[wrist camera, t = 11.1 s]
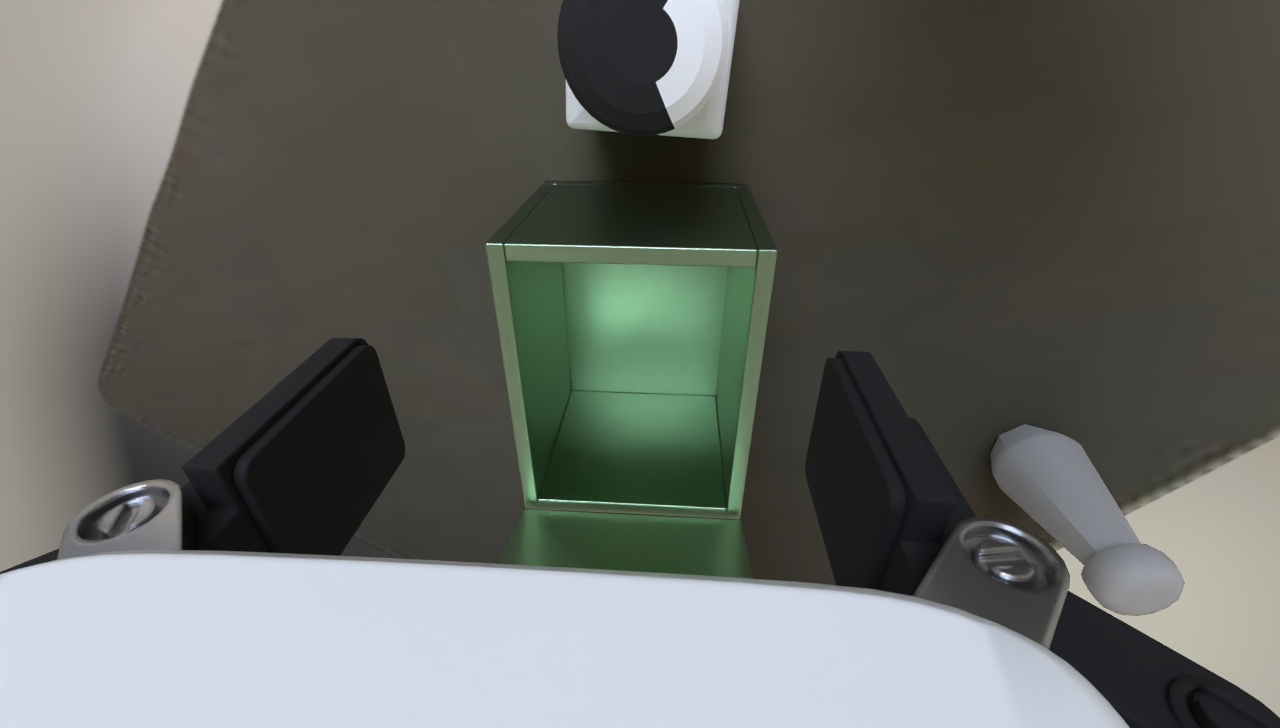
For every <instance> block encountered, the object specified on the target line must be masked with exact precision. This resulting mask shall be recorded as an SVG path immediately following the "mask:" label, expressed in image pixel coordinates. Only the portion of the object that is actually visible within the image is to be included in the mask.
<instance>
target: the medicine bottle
mask: <svg viewBox="0 0 1280 728" xmlns="http://www.w3.org/2000/svg"><path fill="white" fill-rule="evenodd" d="M739 1H740V0H563V3H562V6H561V11H560V16H559V21H558V51H559V57H560V62H561V66H562V69H563V73H564V76H565V78H566V120H567V124H568V125H569V126H570V127H571V128H574V129H586V130H599V131H612V132H620V133H624V134H628V135H634V136H652V135H664V136H677V137H690V138H703V139H717V138H718V137H720V136H721V133H722V130H723V123H724V115H725V108H726V100H727V92H728V85H729V77H730V70H731V62H732V54H733V47H734V39H735V32H736V24H737V16H738V9H739Z"/></svg>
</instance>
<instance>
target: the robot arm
mask: <svg viewBox="0 0 1280 728" xmlns="http://www.w3.org/2000/svg"><path fill="white" fill-rule="evenodd" d="M404 455H405V444H404V440H403V437H402V434H401V430H400V427H399V424H398V421H397V418H396V414H395V411H394V408H393V405H392V401H391V398H390V395H389V392H388V388H387V385H386V382H385V379H384V375H383V372H382V369H381V366H380V362H379V359H378V356H377V353H376V350H375V349H374V348H373V347H372V346H370V345H368V344H367V342H366V341H365V340H363V339H361V338H332V339H330V340H329V341H328V342H326V343H325V344H324V345H323V346H322V347H321V348H319V349H318V350H317V351H316V352H315V353H314V354H312V355H311V356H310V357H309V358H308V359H307V360H305V361H304V362H303V363H302V364H301V365H300V366H298V367H297V368H296V369H295V370H294V371H293V372H292V373H290V374H289V375H288V376H287V377H286V378H285V379H283V380H282V381H281V382H280V383H279V384H278V385H276V386H275V387H274V388H273V389H272V390H271V391H269V392H268V393H267V394H266V395H265V396H264V397H263V398H261V399H260V400H259V401H258V402H257V403H256V404H254V405H253V406H252V407H251V408H250V409H249V410H247V411H246V412H245V413H244V414H243V415H242V416H240V417H239V418H238V419H237V420H236V421H235V422H233V423H232V424H231V425H230V426H229V427H228V428H227V429H225V430H224V431H223V432H222V433H221V434H220V435H218V436H217V437H216V438H215V439H214V440H213V441H211V442H210V443H209V444H208V445H207V446H206V447H204V448H203V449H202V450H201V451H200V452H199V453H198V454H196V455H195V456H194V457H193V458H192V459H191V460H189V461H188V462H187V463H186V464H185V465H184V466H182V469H183V470H184V472H185V474H186V475H187V477H188V479H189V480H190V481H189V482H188V483H187V484H186V485H185V486H184V487H183V488H181V487H180V486H179V485H178V484H176V483H174V482H173V481H168V480H161V479H159V480H150V481H143V482H139V483H135V484H132V485H128V486H126V487H123V488H120V489H118V490H116V491H113V492H111V493H109V494H107V495H105V496H103V497H101V498H99V499H98V500H96V501H94V502H92V503H91V504H90V505H88V506H87V507H86V508H84V509H83V510H81V511H80V512H79V513H78V514H77V515H76V516H75V517H74V518H73V519H72V520H71V521H70V522H69V523H68V525H67V527H66V529H65V531H64V533H63V536H62V540H61V545H60V548H59V549H57V550H54V551H52V552H49V553H47V554H45V555H42V556H39V557H37V558H34V559H32V560H29V561H27V562H24V563H22V564H20V565H17V566H14V567H12V568H10V569H7V570H4V571H2V572H0V728H1280V718H1279V717H1278V716H1277V715H1276V714H1275V713H1273V712H1272V711H1271V710H1270V709H1269V708H1268V707H1266V706H1265V705H1264V704H1263V703H1262V702H1260V701H1259V700H1257V699H1256V698H1254V697H1253V696H1251V695H1249V694H1248V693H1247V692H1245V691H1243V690H1242V689H1240V688H1239V687H1237V686H1236V685H1234V684H1232V683H1230V682H1228V681H1227V680H1225V679H1223V678H1222V677H1220V676H1218V675H1216V674H1215V673H1213V672H1211V671H1209V670H1207V669H1206V668H1204V667H1202V666H1200V665H1199V664H1197V663H1195V662H1193V661H1191V660H1190V659H1188V658H1186V657H1184V656H1183V655H1181V654H1179V653H1177V652H1176V651H1173V650H1172V649H1170V648H1168V647H1167V646H1164V645H1163V644H1161V643H1160V642H1158V641H1156V640H1154V639H1153V638H1151V637H1149V636H1147V635H1146V634H1144V633H1142V632H1140V631H1138V630H1137V629H1135V628H1133V627H1131V626H1130V625H1128V624H1126V623H1124V622H1123V621H1121V620H1119V619H1117V618H1115V617H1113V616H1112V615H1110V614H1108V613H1106V612H1105V611H1103V610H1101V609H1099V608H1098V607H1096V606H1094V605H1092V604H1091V603H1089V602H1087V601H1085V600H1084V599H1082V598H1080V597H1078V596H1076V595H1074V594H1073V593H1071V592H1069V591H1068V589H1069V583H1070V575H1069V572H1068V569H1067V567H1066V565H1065V563H1064V561H1063V559H1062V558H1061V557H1060V556H1059V555H1058V553H1057V552H1056V551H1055V550H1054V548H1053V547H1051V546H1050V545H1049V544H1048V543H1046V542H1045V541H1044V540H1043V539H1041V538H1040V537H1039V536H1037V535H1036V534H1034V533H1032V532H1030V531H1029V530H1027V529H1025V528H1023V527H1022V526H1019V525H1016V524H1014V523H1011V522H1009V521H1006V520H1002V519H997V518H992V517H976V516H975V515H974V513H973V511H972V510H971V508H970V506H969V505H968V503H967V501H966V500H965V498H964V497H963V495H962V493H961V492H960V490H959V488H958V487H957V485H956V483H955V482H954V480H953V478H952V477H951V475H950V473H949V472H948V470H947V468H946V467H945V465H944V464H943V462H942V460H941V459H940V457H939V455H938V454H937V452H936V450H935V449H934V447H933V445H932V444H931V442H930V440H929V439H928V437H927V436H926V434H925V432H924V431H923V429H922V427H921V426H920V424H919V423H918V422H917V421H916V420H915V419H913V418H908V416H907V414H906V413H905V411H904V409H903V407H902V406H901V404H900V402H899V401H898V399H897V397H896V396H895V394H894V392H893V390H892V389H891V387H890V385H889V384H888V382H887V380H886V379H885V377H884V375H883V373H882V372H881V370H880V368H879V367H878V365H877V363H876V362H875V360H874V358H873V356H872V355H871V354H870V353H869V352H853V351H839V352H838V353H837V355H836V357H835V358H828V359H827V361H826V364H825V368H824V373H823V378H822V383H821V388H820V393H819V397H818V402H817V407H816V412H815V417H814V422H813V427H812V432H811V437H810V442H809V447H808V452H807V457H806V464H805V471H806V478H807V482H808V485H809V489H810V493H811V496H812V500H813V503H814V507H815V511H816V514H817V518H818V521H819V525H820V529H821V532H822V536H823V539H824V543H825V547H826V550H827V554H828V557H829V561H830V565H831V568H832V572H833V575H834V579H835V583H836V585H827V584H817V583H805V582H794V581H779V580H763V579H749V578H736V577H720V576H703V575H687V574H670V573H653V572H636V571H619V570H602V569H585V568H566V567H548V566H530V565H511V564H492V563H473V562H454V561H435V560H416V559H395V558H374V557H373V558H372V557H352V556H340V555H341V553H342V552H343V550H344V549H345V547H346V546H347V544H348V543H349V541H350V540H351V538H352V536H353V535H354V533H355V532H356V530H357V529H358V527H359V526H360V524H361V523H362V521H363V520H364V518H365V517H366V515H367V514H368V512H369V511H370V509H371V508H372V506H373V505H374V503H375V502H376V500H377V499H378V497H379V496H380V494H381V493H382V491H383V490H384V488H385V486H386V485H387V483H388V482H389V480H390V479H391V477H392V476H393V474H394V473H395V471H396V470H397V468H398V467H399V465H400V464H401V462H402V460H403V458H404Z"/></svg>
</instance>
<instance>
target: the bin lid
mask: <svg viewBox="0 0 1280 728" xmlns="http://www.w3.org/2000/svg"><path fill="white" fill-rule="evenodd" d="M496 564H511V565H530V566H548V567H566V568H585V569H602V570H619V571H636V572H653V573H670V574H687V575H703V576H720V577H736V578H749V579H753V575H752V570H751V565H750V560H749V556H748V551H747V546H746V541H745V536H744V531H743V526H742V521H741V520H724V519H705V518H685V517H666V516H646V515H627V514H607V513H588V512H568V511H549V510H529V509H523V510H522V512H521V514H520V516H519V518H518V520H517V522H516V524H515V526H514V528H513V530H512V532H511V534H510V536H509V538H508V540H507V542H506V544H505V547H504V549H503V551H502V553H501V555H500V557H499V559H498V561H497V563H496Z"/></svg>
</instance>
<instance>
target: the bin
mask: <svg viewBox="0 0 1280 728" xmlns="http://www.w3.org/2000/svg"><path fill="white" fill-rule="evenodd" d="M485 246H486V252H487V259H488V265H489V272H490V279H491V285H492V292H493V298H494V305H495V311H496V318H497V325H498V331H499V338H500V344H501V351H502V358H503V364H504V371H505V377H506V384H507V391H508V397H509V404H510V410H511V417H512V424H513V430H514V437H515V443H516V450H517V457H518V463H519V470H520V476H521V483H522V489H523V496H524V503H525V508H532V509H538V508H539V509H549V510H568V511H588V512H607V513H627V514H646V515H666V516H685V517H705V518H727V519H740V516H741V509H742V502H743V495H744V487H745V480H746V473H747V466H748V459H749V452H750V444H751V437H752V430H753V423H754V416H755V409H756V402H757V394H758V387H759V380H760V373H761V366H762V359H763V352H764V344H765V337H766V330H767V323H768V316H769V309H770V302H771V294H772V287H773V280H774V273H775V266H776V259H777V252H778V251H777V249H776V247H775V244H774V242H773V240H772V238H771V236H770V233H769V231H768V229H767V227H766V225H765V222H764V220H763V218H762V216H761V214H760V212H759V209H758V207H757V205H756V203H755V201H754V198H753V196H752V194H751V192H750V190H749V188H748V185H747V184H704V183H646V182H587V181H545V182H544V183H543V184H542V185H541V186H540V187H539V188H538V189H537V190H536V192H535V193H534V194H533V195H532V196H531V197H530V198H529V199H528V200H527V201H526V202H525V203H524V204H523V205H522V206H521V207H520V208H519V209H518V210H517V211H516V212H515V213H514V214H513V215H512V216H511V217H510V218H509V220H508V221H507V222H506V223H505V224H504V225H503V226H502V227H501V228H500V229H499V230H498V231H497V232H496V233H495V234H494V235H493V236H492V237H491V238H490V239H489V240H488V241H487V242H486V244H485Z"/></svg>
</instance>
